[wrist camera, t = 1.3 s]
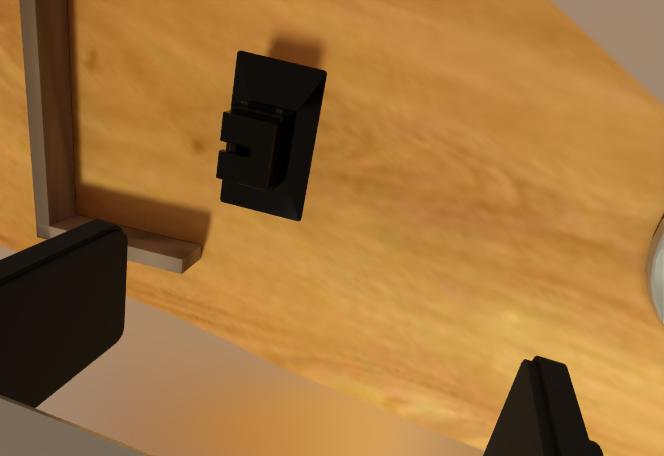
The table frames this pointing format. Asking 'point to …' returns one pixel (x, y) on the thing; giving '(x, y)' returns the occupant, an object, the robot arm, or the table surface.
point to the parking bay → (70, 139)
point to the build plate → (270, 135)
